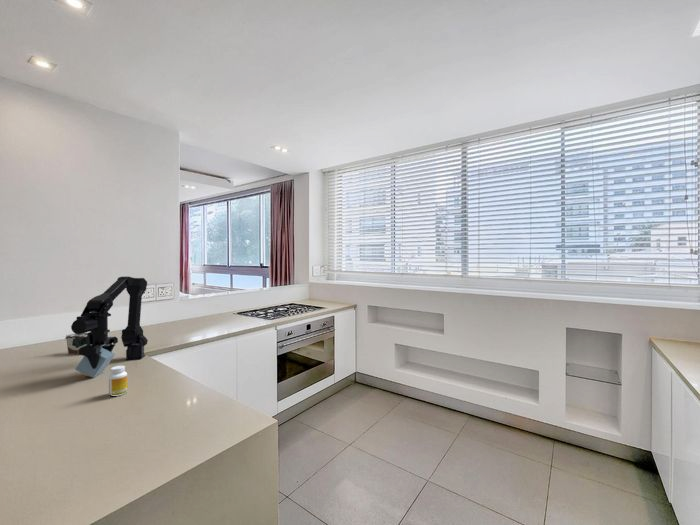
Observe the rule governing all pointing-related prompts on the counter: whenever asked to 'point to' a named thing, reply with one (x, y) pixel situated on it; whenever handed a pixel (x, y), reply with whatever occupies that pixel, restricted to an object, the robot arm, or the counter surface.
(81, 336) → the food container
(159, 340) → the counter surface
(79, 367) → the pale blue-grey cube
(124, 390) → the supplement bottle
